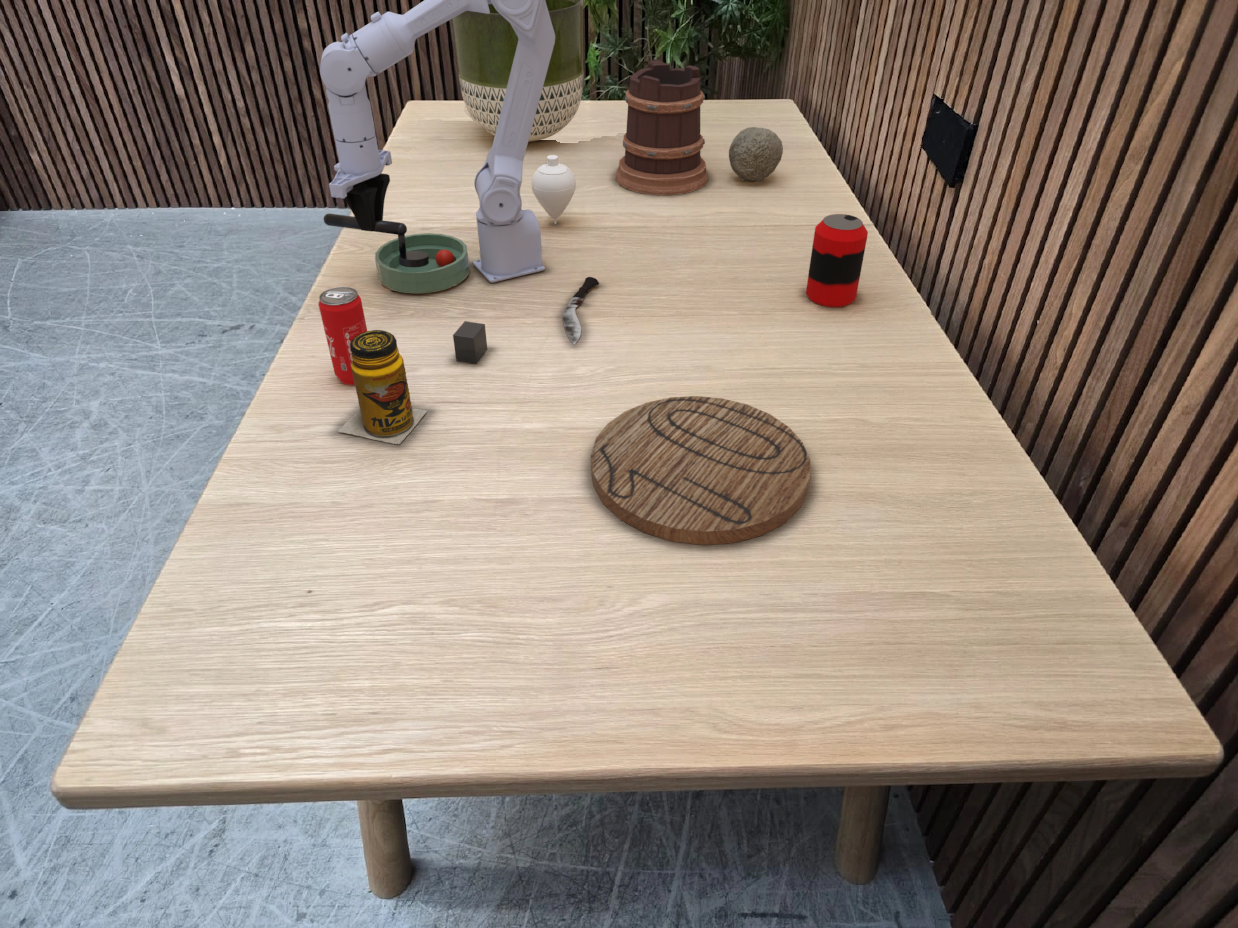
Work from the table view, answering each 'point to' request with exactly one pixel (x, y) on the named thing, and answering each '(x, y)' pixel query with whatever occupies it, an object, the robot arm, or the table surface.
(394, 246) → the bowl
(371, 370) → the condiment
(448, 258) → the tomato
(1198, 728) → the table surface
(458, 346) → the dark grey cube
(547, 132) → the planter
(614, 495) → the trivet
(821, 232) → the soda can
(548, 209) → the spinning top
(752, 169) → the decorative stone
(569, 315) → the knife
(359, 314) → the beverage can
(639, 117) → the brown wooden barrel
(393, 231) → the crank handle
